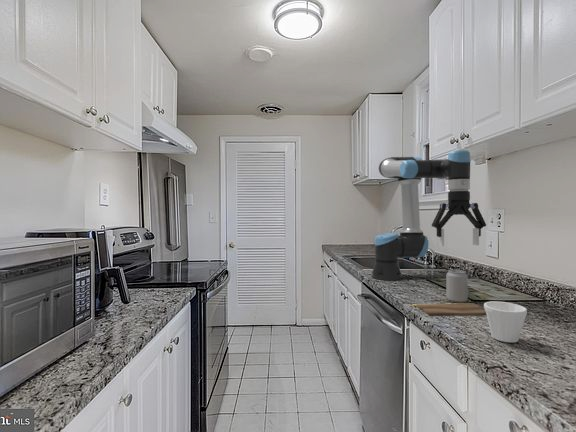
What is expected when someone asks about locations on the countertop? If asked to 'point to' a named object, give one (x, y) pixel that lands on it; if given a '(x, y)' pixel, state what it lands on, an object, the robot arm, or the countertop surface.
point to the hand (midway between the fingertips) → (458, 245)
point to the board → (452, 309)
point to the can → (457, 286)
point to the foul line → (462, 303)
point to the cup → (505, 320)
